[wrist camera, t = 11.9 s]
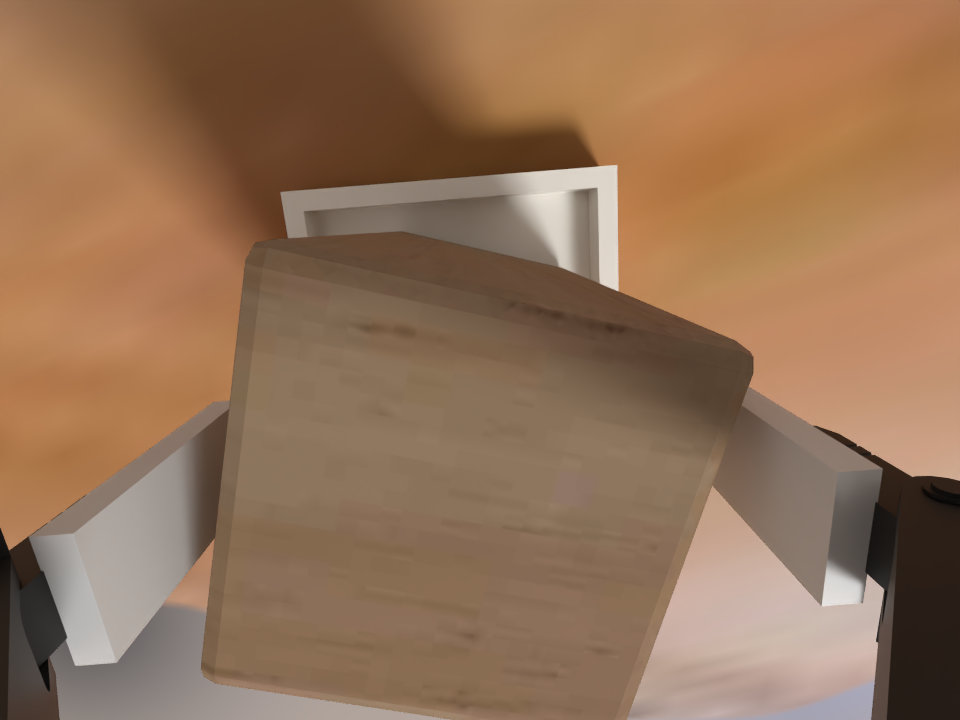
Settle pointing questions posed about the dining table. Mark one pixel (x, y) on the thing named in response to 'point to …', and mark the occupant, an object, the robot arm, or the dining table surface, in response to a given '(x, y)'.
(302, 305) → the wooden block
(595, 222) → the dish
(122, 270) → the dining table surface
